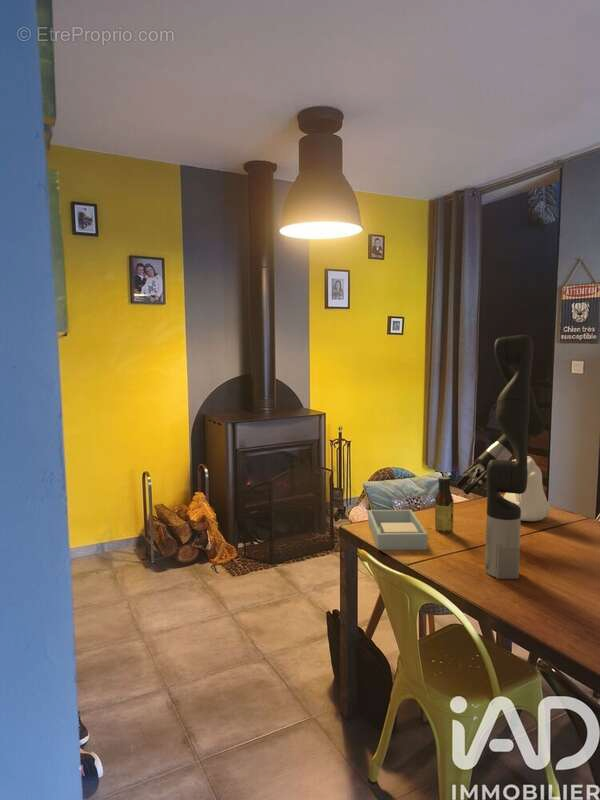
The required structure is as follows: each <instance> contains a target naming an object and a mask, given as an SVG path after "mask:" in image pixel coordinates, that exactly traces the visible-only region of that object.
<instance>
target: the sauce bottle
mask: <svg viewBox="0 0 600 800" xmlns="http://www.w3.org/2000/svg"><path fill="white" fill-rule="evenodd" d="M437 480H438V491H437V493H436V494H435V502H434V524H435V526H434V527H435V528H434V529H435V532H437V533H441V534H451V533H453V531H454V498H453V496H452V492H451V488H450V483H451V477H449V476H439V477H438V478H437Z"/></svg>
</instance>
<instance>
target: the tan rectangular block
mask: <svg viewBox="0 0 600 800" xmlns="http://www.w3.org/2000/svg"><path fill="white" fill-rule="evenodd" d="M380 533H418V530H417V529H416V527H415V526H414V524H413V523H381V526H380Z"/></svg>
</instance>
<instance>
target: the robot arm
mask: <svg viewBox="0 0 600 800" xmlns="http://www.w3.org/2000/svg"><path fill="white" fill-rule="evenodd" d="M494 356H495V360H496V364H497V366H498V369H499V370H500V372H501V375H502V377H503V379H504V381H505V383H506V385H505V387H504V388H503V389H502V391H500V394H499V395H498V396H497V397H498V398H497V400H496V401H497V402H496V412H495V420H496V424H497V425H498V427H499V429H500V430H501V432H502V435H501V436H500V437H499V438H498V439H497V440H496V441H495V442H493V443H492V444H491V445H489V447H487V448H486V449H485V451H483V452H482V453H481V454H480V456H478V457H477V461H478V462H479V463H477V464H476V462H473V463H472V464H471V465H470V466H468V467H467V468H466V469H465V470H464V471H463V472H462V477H461V478H460V479H459V480H458V481H456V483H455V485H456V486H457V487H458V488H459V489H462V487H464V486H465V485H466V484H467V482H468V485H466V486H465V487H464V488H463V489H462V492H463V493H464V494H465V495H469V494H471V493H472V491H473V490H474V489H477V488H478V489H479V488H481V487H482V486H483V485H484V484H485V483H486V498H487V499H486V523H485V524H486V525H485V526H486V528H485V529H486V530H485V559H484V560H485V564H484V568H485V569H484V570H485V572H486V574H487V575H489V576H492V577H494V578H496V579H497V580H506V579H508V580H509V579H510V580H515V579H517V580H518V579H519V575H520V572H519V571H520V551H521V550H520V549H521V548H520V547H521V545H520V544H521V521H522V520H521V509H520V507H519V506H518V505H517V504H515V503H513V502H510V501H508V500H506V499H505V498H504V496H502V495H501V494H500V493H504V494H505V493H515V494H523V493H524V492H525V490H526V487H527V479H528V469H527V456H528V437H530V438H534V439H535V438H538V437H540V436H541V435H542V434H543V433H544V431H545V421H544V418H543V415H542V413H541V411H540V410H539V408H538V407H537V403H536V399H535V393H534V390H533V388H532V387H531V375H532V367H533V361H534V359H533V357H534V342H533V338H532V337H531V336H530V335H529V334H518V335H511V336H502V337H498V338H497V339H496V340H495V343H494ZM516 365H517V369H516V371H515V369H514V368H513V367H512V366H516ZM513 455H514V457H515V459H516V461H512V460H510V459H511V457H512V456H513ZM470 480H471V482H469V481H470Z"/></svg>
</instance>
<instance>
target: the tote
mask: <svg viewBox="0 0 600 800" xmlns="http://www.w3.org/2000/svg"><path fill="white" fill-rule="evenodd" d="M381 523H413V524H414V526H415V527H416V529H417V530H418V533H380V526H381ZM367 524H368V527H369V530H370V532H371V534H372V538H373V540H374V543H375V545H376V549H377V550H378V551H379V550H381V551H383V550H385V551H387V550H388V551H389V550H391V551H393V550H394V551H396V550H405V551H406V550H409V551H410V550H428V541H429V540H428V539H429V538H428V537H429V535H428V532H427V531H426V529H425V527H423V525H422V523H421V522H420V521H419V519H418V518H417V516H416V514H415V513H414V512H413V510H412V509H368V510H367Z"/></svg>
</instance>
